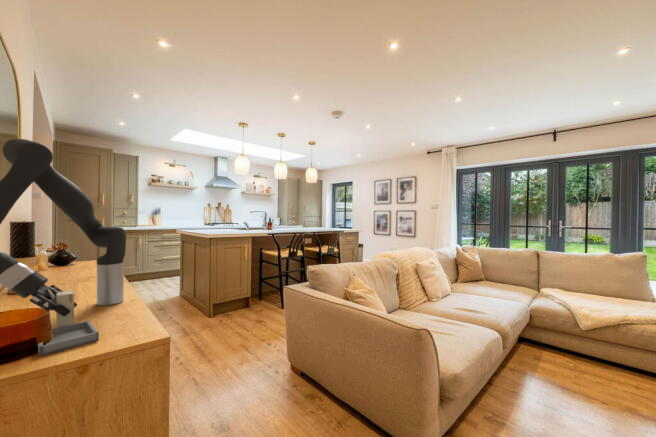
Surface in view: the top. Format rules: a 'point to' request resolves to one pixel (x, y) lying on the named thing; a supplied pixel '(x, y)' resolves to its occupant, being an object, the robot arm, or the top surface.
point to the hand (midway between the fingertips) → (71, 310)
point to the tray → (69, 337)
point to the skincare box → (67, 301)
